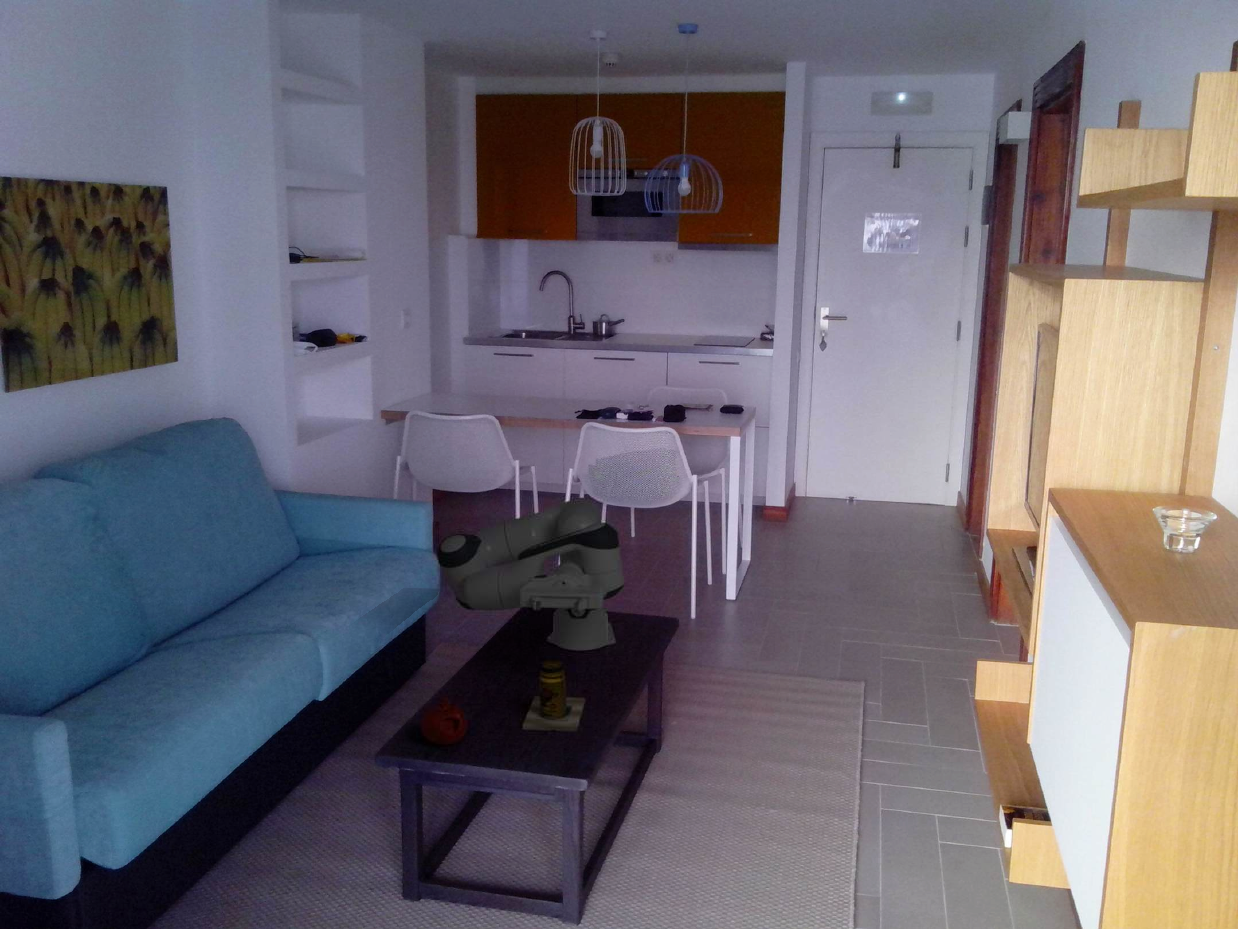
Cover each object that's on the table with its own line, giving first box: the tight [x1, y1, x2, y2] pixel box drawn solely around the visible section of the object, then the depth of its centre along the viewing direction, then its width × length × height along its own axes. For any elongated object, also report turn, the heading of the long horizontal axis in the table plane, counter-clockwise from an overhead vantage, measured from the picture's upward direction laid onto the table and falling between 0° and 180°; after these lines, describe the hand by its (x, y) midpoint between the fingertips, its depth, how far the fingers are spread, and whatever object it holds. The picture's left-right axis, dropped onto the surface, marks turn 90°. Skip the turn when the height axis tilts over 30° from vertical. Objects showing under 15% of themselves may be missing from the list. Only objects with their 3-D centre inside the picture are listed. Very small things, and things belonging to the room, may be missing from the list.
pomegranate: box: [420, 697, 468, 746], centre depth 227 cm, size 10×10×9 cm
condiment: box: [536, 660, 573, 721], centre depth 237 cm, size 7×8×12 cm
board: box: [522, 695, 586, 732], centre depth 239 cm, size 16×12×1 cm
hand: (556, 607), depth 240 cm, fingers open, 8 cm apart
